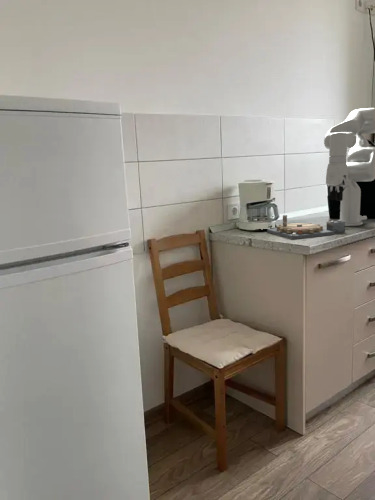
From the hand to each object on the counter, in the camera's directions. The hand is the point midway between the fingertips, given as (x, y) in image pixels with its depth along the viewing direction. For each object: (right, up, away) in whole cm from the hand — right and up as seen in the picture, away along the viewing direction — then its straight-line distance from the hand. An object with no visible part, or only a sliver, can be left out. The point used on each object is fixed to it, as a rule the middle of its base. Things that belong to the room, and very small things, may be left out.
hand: (336, 199), depth 201 cm
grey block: (+1, -15, +3) cm, 15 cm away
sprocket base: (-16, -15, +3) cm, 23 cm away
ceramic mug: (-29, -13, +18) cm, 36 cm away
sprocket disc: (-16, -14, +3) cm, 22 cm away
